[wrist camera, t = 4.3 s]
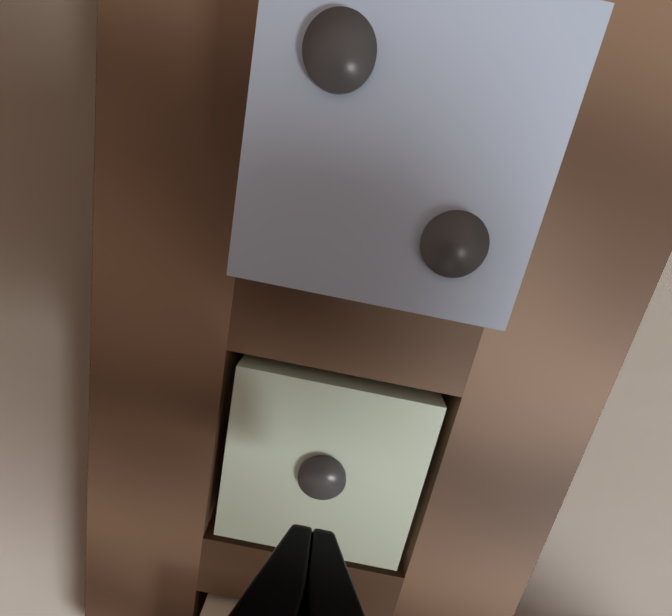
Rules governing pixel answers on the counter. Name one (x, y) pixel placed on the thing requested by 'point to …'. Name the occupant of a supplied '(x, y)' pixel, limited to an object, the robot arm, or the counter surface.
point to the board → (345, 325)
